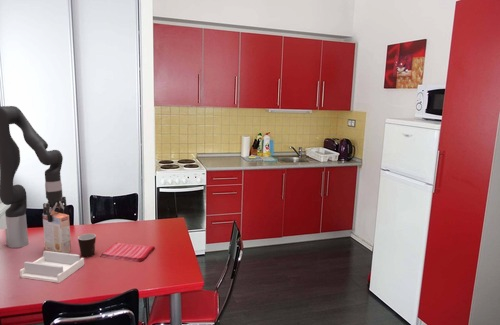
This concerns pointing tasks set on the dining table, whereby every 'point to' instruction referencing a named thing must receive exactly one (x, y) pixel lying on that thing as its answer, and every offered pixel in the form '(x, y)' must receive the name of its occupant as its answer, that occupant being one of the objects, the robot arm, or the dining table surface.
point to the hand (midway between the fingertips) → (56, 219)
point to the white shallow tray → (52, 267)
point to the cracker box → (57, 233)
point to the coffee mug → (87, 244)
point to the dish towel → (128, 252)
